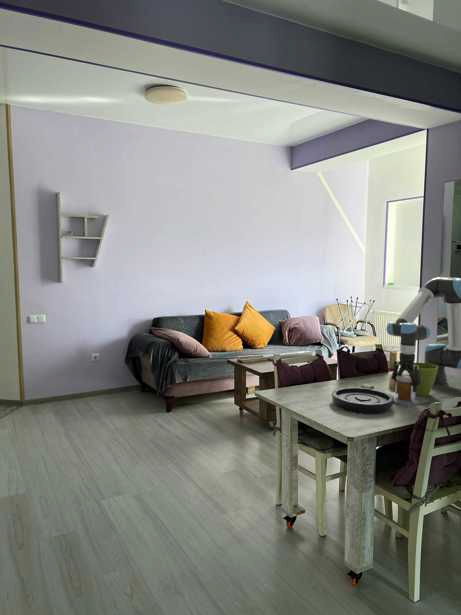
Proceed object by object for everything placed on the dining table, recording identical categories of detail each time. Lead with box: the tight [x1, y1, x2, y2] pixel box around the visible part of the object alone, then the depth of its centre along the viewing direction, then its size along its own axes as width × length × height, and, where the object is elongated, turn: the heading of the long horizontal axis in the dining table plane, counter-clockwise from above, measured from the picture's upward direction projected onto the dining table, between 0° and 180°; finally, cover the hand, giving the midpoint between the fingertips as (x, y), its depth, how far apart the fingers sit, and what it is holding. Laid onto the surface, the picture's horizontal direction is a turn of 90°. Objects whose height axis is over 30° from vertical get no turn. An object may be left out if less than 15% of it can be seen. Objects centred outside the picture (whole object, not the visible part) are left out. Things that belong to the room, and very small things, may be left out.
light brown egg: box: [388, 374, 396, 390], centre depth 273 cm, size 5×5×7 cm
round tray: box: [331, 386, 394, 415], centre depth 239 cm, size 30×6×30 cm
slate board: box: [391, 393, 430, 408], centre depth 249 cm, size 18×16×1 cm
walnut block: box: [360, 383, 375, 389], centre depth 259 cm, size 5×5×5 cm
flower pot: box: [413, 362, 438, 397], centre depth 261 cm, size 15×15×16 cm
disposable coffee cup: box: [396, 373, 413, 400], centre depth 248 cm, size 10×10×12 cm
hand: (404, 395), depth 248 cm, fingers open, 9 cm apart
